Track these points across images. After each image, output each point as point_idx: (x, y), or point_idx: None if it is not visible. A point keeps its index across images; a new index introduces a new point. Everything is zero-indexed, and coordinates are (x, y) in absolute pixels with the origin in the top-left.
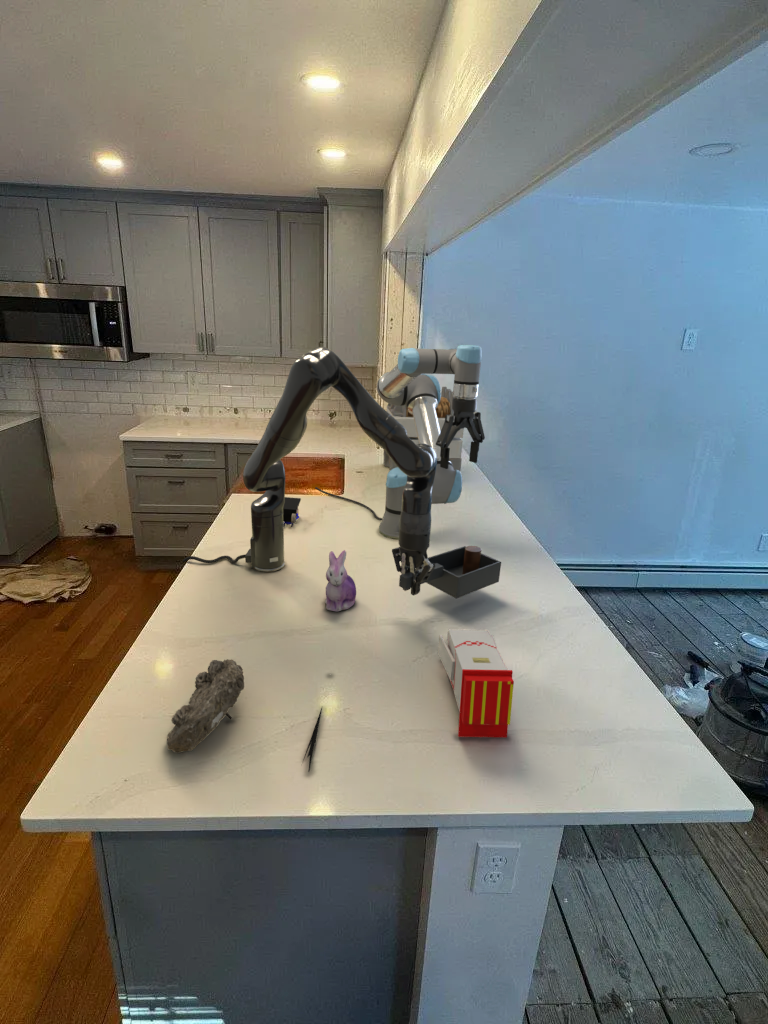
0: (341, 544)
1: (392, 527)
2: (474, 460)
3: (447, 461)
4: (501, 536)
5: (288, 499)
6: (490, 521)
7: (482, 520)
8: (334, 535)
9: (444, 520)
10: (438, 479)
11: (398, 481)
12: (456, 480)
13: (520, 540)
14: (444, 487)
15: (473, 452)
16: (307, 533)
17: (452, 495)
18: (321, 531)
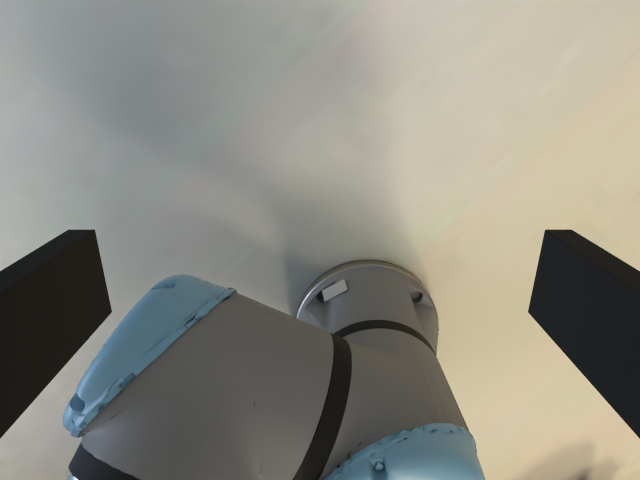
0: None
1: (434, 322)
2: (84, 255)
3: (622, 264)
4: (73, 99)
5: None
6: (12, 226)
7: (35, 248)
8: (534, 400)
9: None
10: (264, 386)
11: (478, 460)
12: (163, 335)
13: (26, 21)
14: (251, 331)
15: (32, 331)
16: (576, 443)
17: (214, 288)
18: (538, 435)
